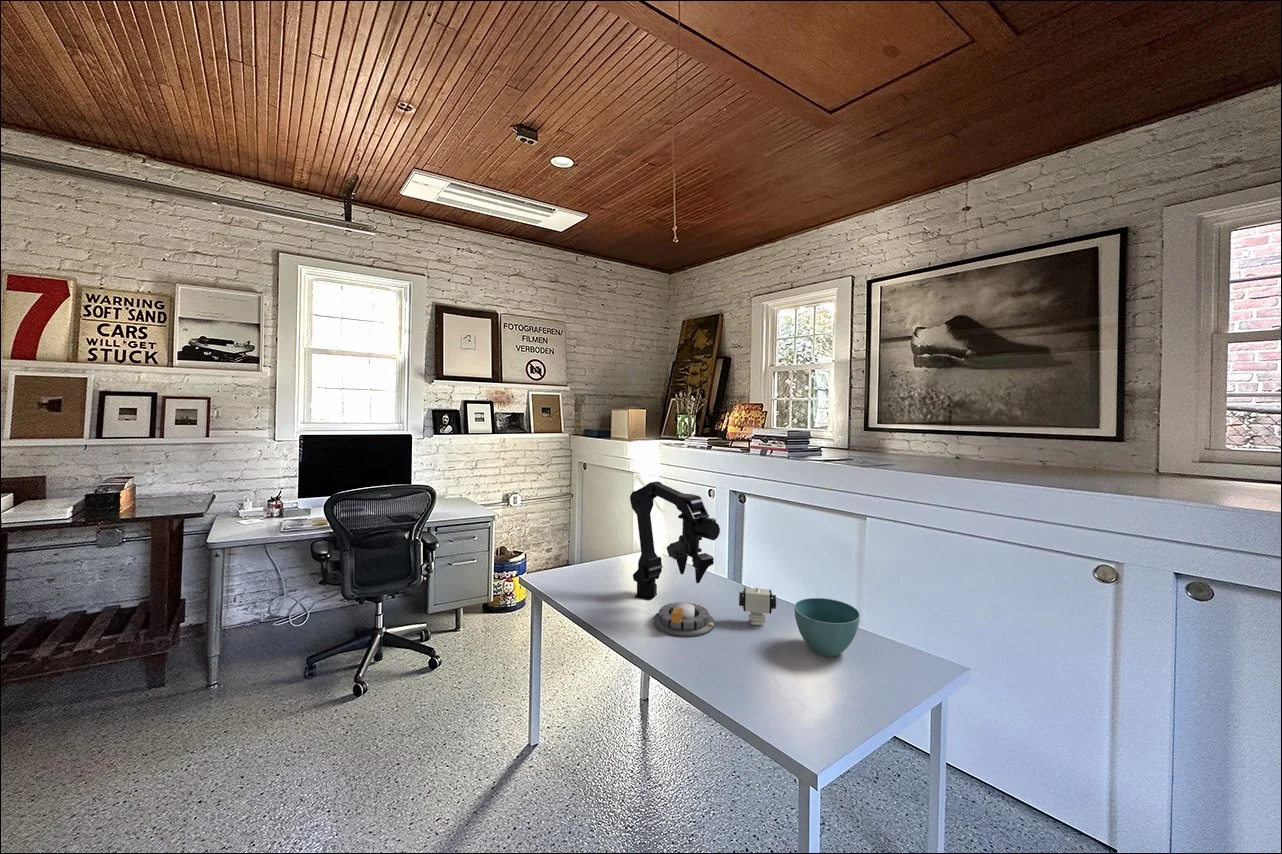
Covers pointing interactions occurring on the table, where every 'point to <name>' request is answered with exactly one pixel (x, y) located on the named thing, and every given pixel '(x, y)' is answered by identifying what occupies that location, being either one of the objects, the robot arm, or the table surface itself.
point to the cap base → (680, 632)
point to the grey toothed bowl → (676, 617)
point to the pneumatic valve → (757, 604)
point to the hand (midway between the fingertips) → (689, 578)
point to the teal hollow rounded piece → (826, 624)
